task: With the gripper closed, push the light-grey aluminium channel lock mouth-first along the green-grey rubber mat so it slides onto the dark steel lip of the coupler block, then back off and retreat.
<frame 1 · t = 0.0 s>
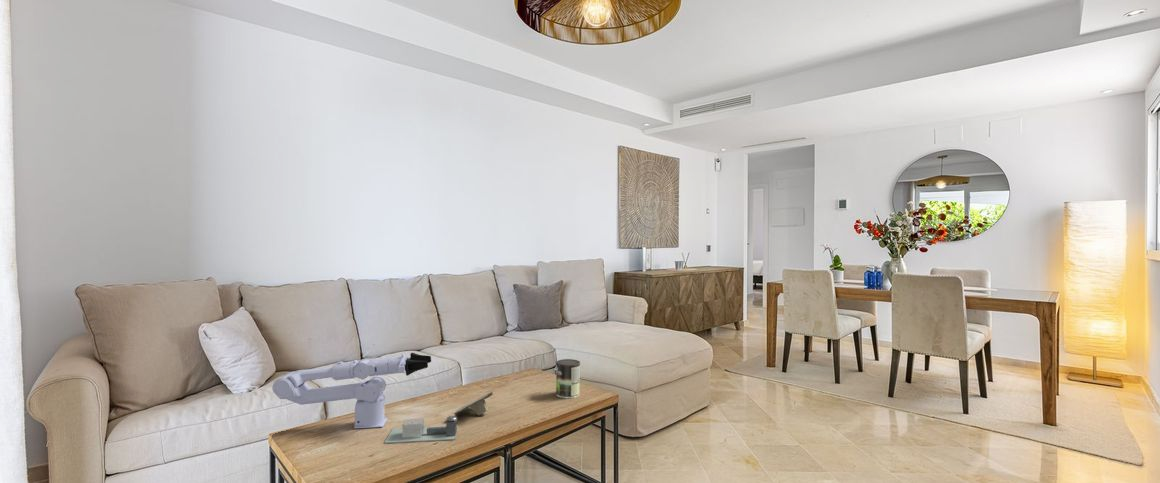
hand: (429, 361, 175), 22 cm above the table, tool horizontal, fingers open, 7 cm apart
coupler: (437, 433, 163), resting on mat
mat: (423, 434, 163), on the table
coffee can: (567, 395, 207), on the table
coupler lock: (413, 435, 161), resting on mat
wall: (471, 415, 182), on the table
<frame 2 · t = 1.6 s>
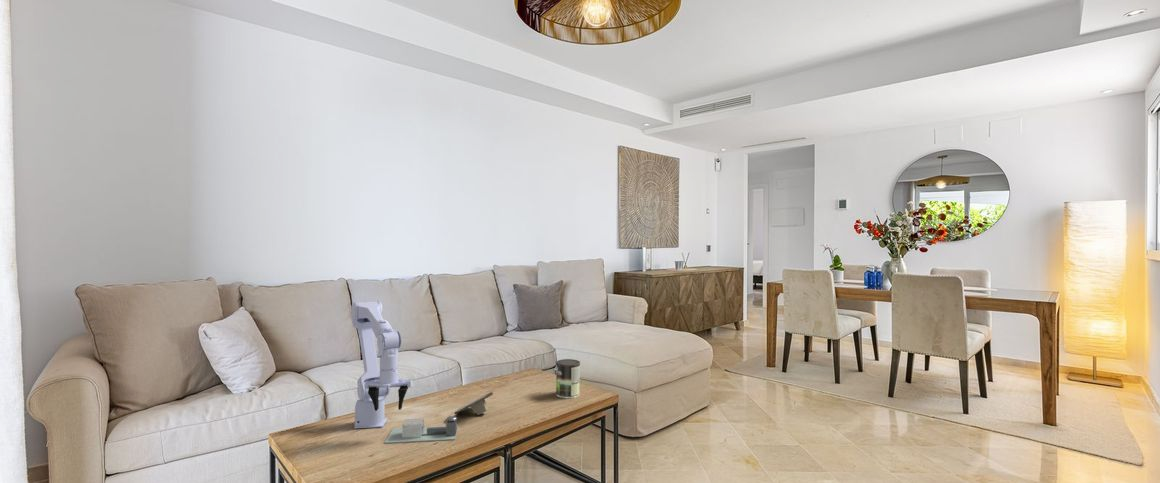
hand: (388, 409, 160), 9 cm above the table, tool pointing down, fingers open, 7 cm apart
nothing on the table moved.
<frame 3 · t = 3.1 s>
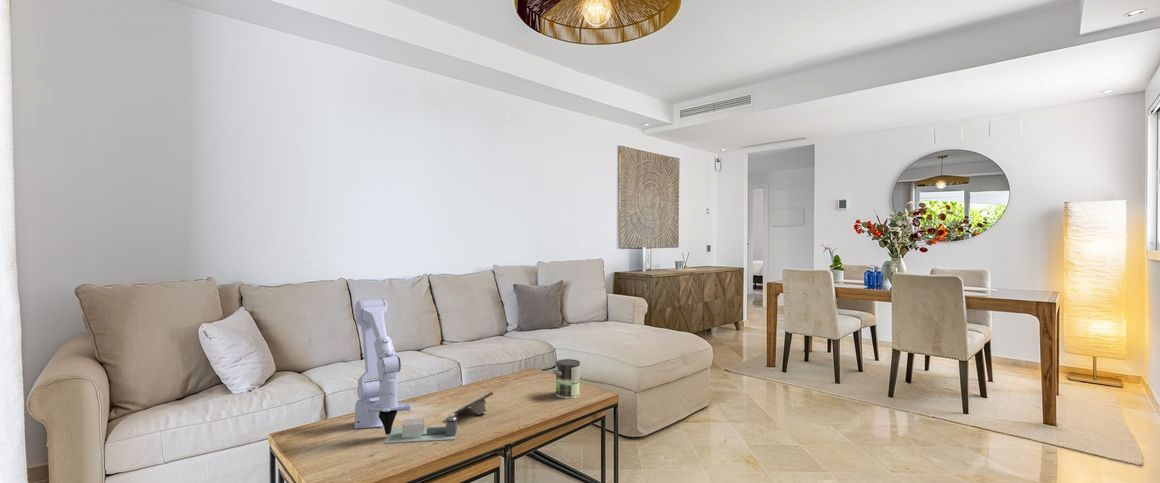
hand: (388, 433, 160), 1 cm above the table, tool pointing down, fingers closed
nothing on the table moved.
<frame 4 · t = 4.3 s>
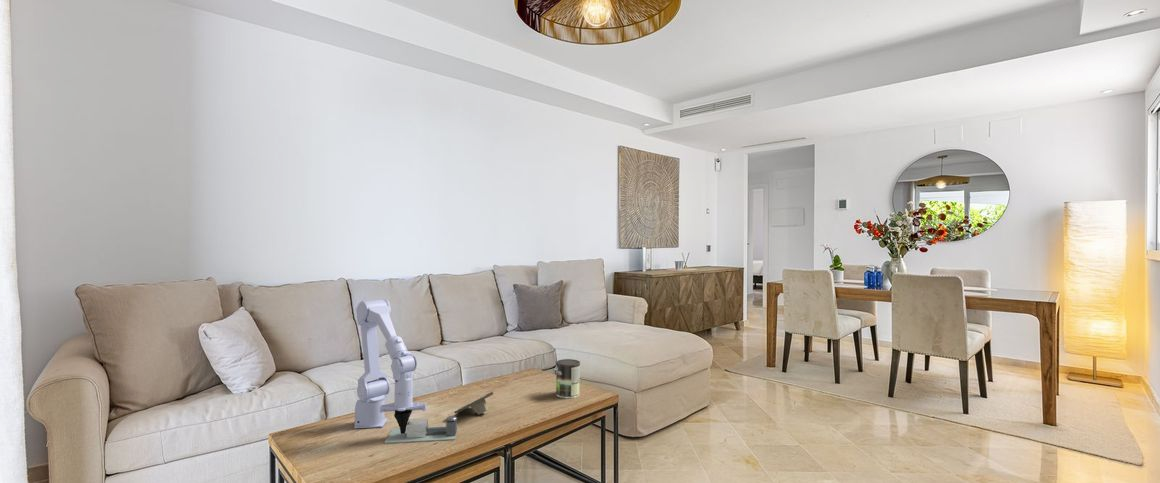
hand: (403, 432, 161), 1 cm above the table, tool pointing down, fingers closed
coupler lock: (417, 434, 162), resting on mat, touching gripper
everything else where it was.
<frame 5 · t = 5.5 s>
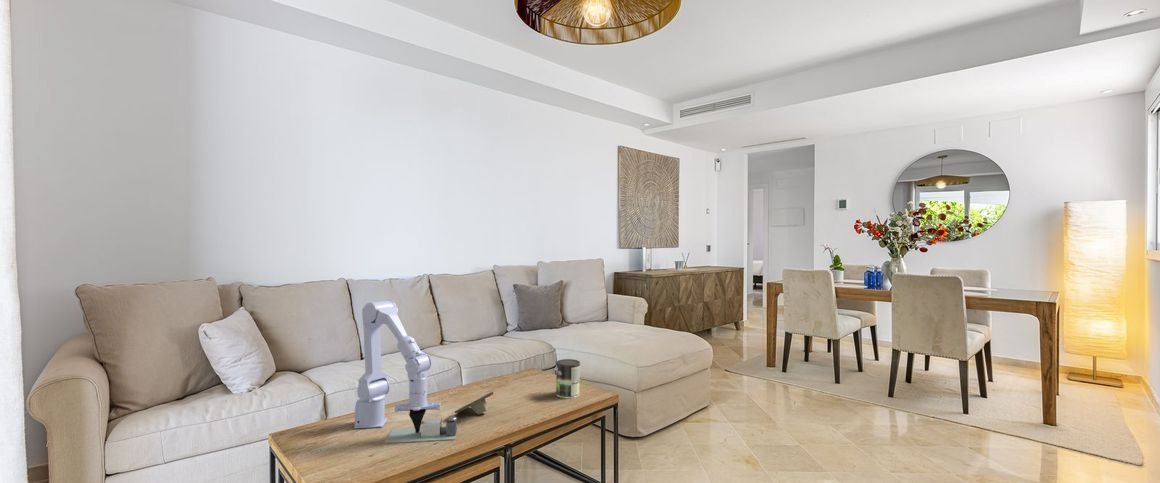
hand: (417, 431, 162), 1 cm above the table, tool pointing down, fingers closed
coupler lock: (431, 434, 162), resting on mat, touching gripper
everything else where it was.
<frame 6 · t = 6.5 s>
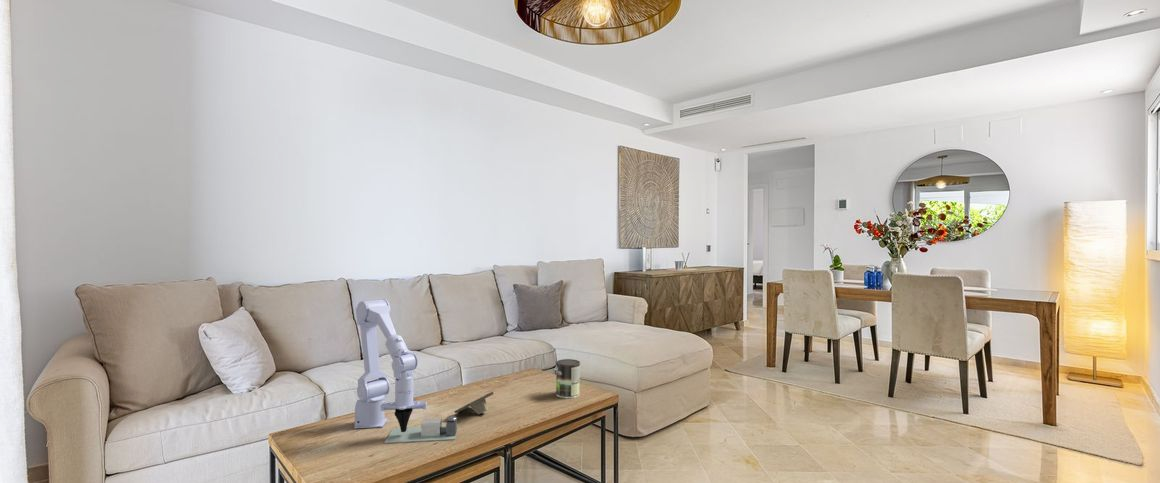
hand: (403, 430, 161), 2 cm above the table, tool pointing down, fingers closed
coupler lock: (431, 434, 162), resting on mat
everything else where it was.
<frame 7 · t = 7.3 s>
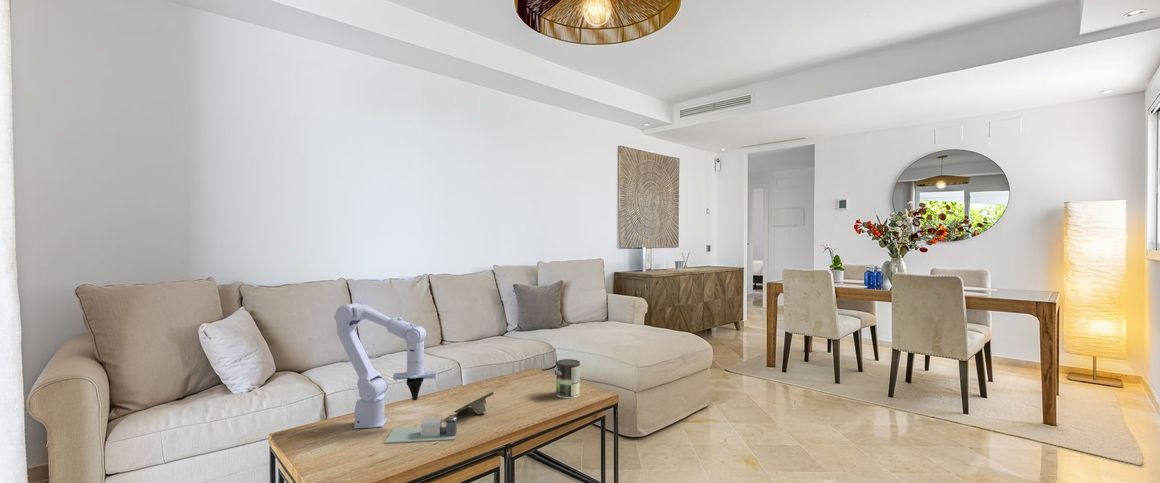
hand: (415, 399, 170), 9 cm above the table, tool pointing down, fingers closed
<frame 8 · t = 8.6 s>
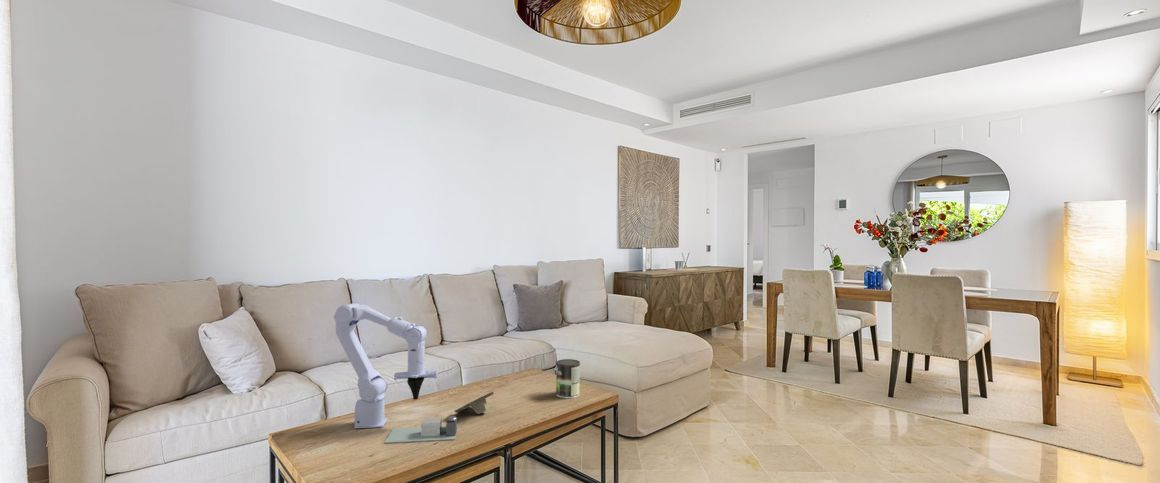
hand: (415, 398, 171), 9 cm above the table, tool pointing down, fingers closed
at the end: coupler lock 0.4 cm from the target spot, resting on mat; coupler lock tilted 0° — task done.
